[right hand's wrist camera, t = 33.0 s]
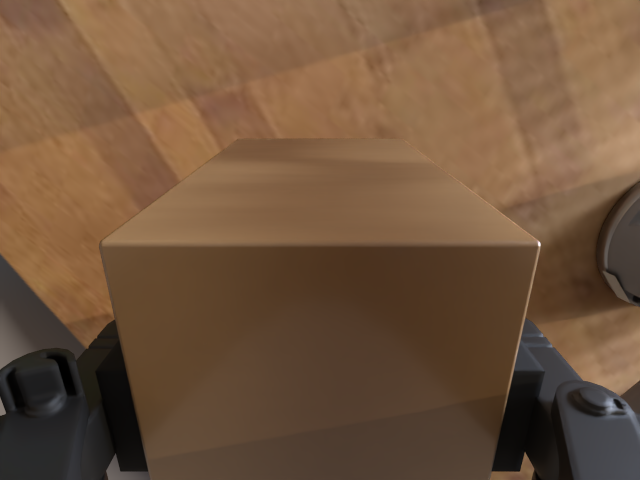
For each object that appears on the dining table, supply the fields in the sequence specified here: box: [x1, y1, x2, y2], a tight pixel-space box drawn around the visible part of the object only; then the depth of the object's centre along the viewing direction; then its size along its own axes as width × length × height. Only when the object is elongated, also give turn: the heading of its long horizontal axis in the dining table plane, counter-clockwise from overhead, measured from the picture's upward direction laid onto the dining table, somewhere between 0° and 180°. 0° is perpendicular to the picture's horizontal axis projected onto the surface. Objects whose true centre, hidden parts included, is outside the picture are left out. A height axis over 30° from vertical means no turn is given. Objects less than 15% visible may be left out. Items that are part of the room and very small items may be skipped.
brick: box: [99, 139, 541, 480], centre depth 14 cm, size 7×8×12 cm
